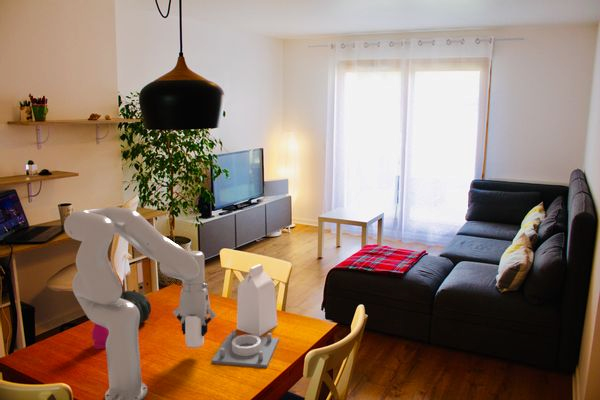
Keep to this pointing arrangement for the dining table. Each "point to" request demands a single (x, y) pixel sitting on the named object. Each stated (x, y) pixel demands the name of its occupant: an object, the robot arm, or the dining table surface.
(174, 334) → the dining table surface
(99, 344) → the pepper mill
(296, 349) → the dining table surface
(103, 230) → the robot arm
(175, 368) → the dining table surface
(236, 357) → the carrier plate
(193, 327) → the can
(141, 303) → the squash
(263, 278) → the milk
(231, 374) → the dining table surface
